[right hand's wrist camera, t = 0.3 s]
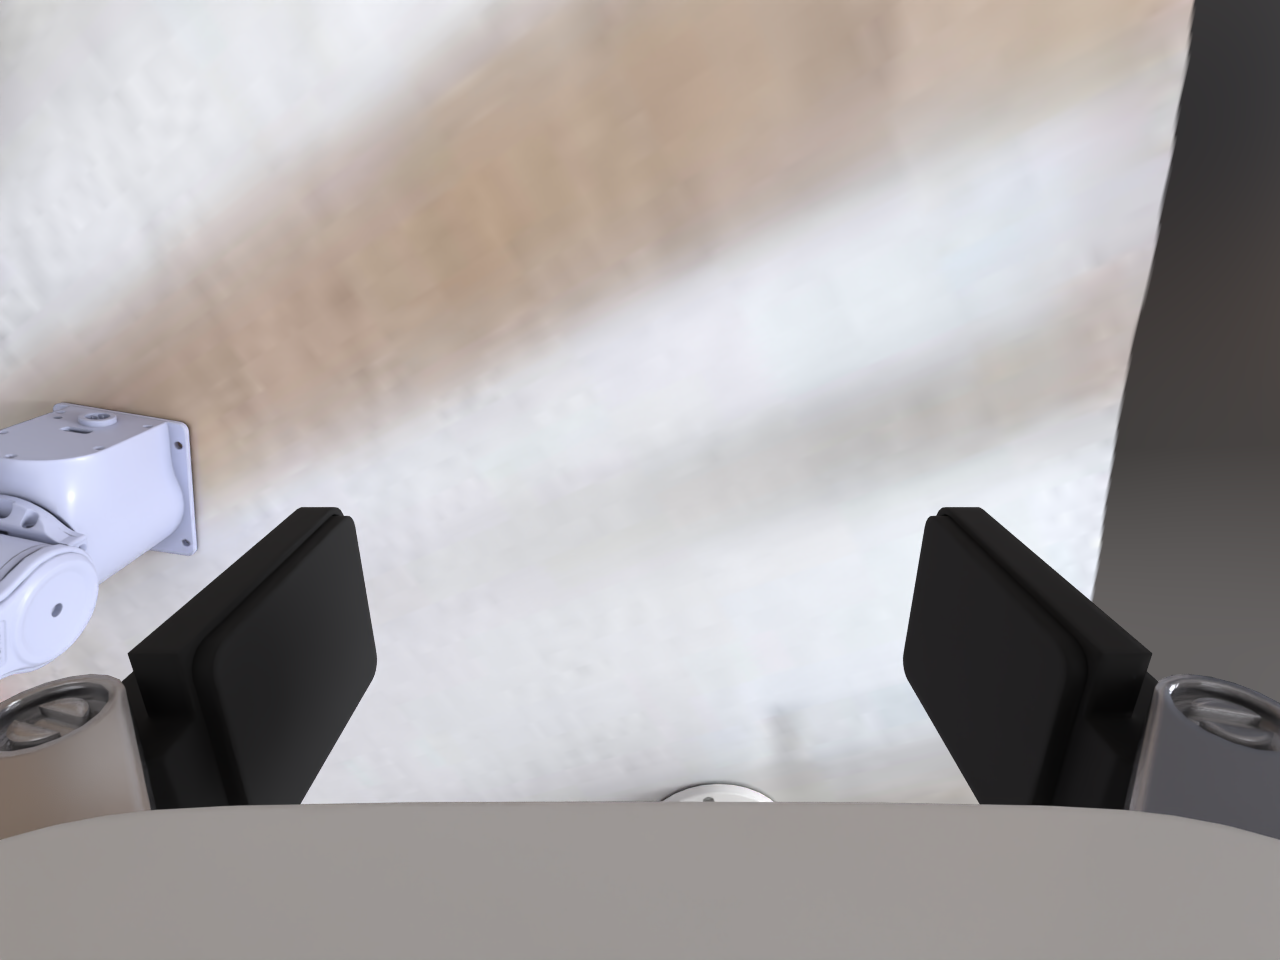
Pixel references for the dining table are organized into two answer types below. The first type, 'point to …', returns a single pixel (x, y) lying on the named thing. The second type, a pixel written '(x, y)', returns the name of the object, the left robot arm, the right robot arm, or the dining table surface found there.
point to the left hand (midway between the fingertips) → (38, 909)
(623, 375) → the dining table surface
